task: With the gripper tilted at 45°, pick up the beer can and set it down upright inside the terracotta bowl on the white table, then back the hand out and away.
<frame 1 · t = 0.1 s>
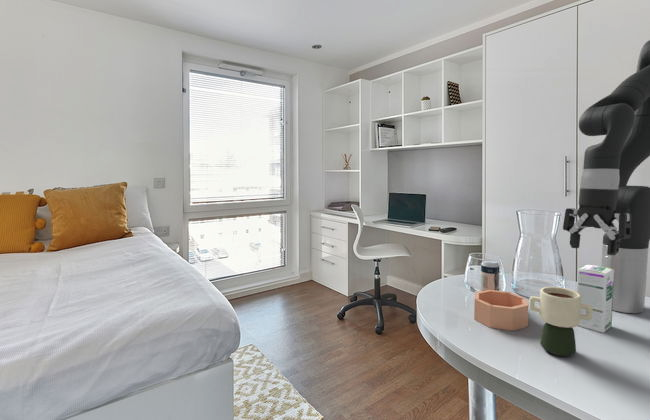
hand: (592, 251, 86), 17 cm above the table, tool pointing down, fingers open, 8 cm apart
terracotta bowl: (499, 318, 88), on the table
character mug: (557, 351, 72), on the table
syrup box: (592, 326, 83), on the table
beer can: (489, 301, 100), on the table
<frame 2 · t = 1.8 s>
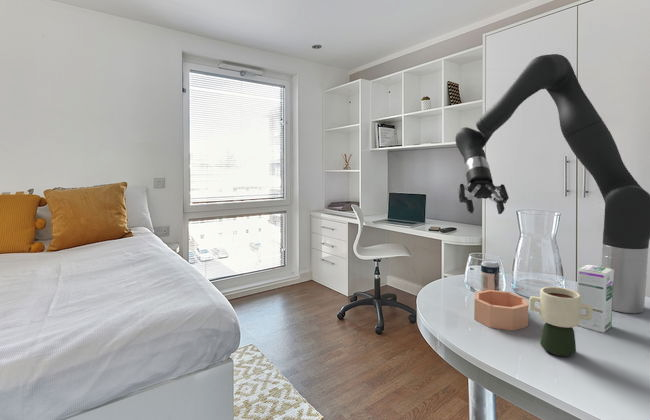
hand: (486, 212, 105), 25 cm above the table, tool tilted 40°, fingers open, 8 cm apart
nothing on the table moved.
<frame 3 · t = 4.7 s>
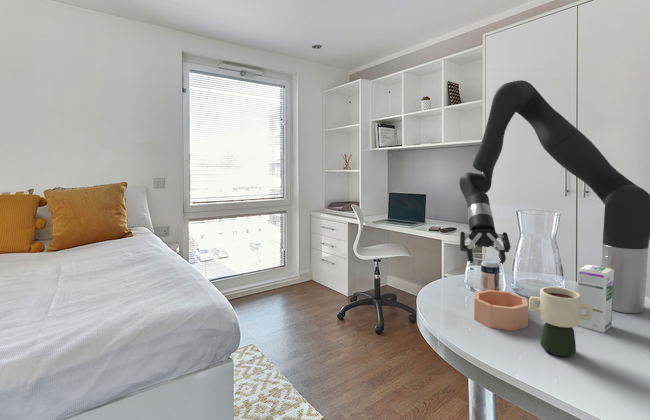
hand: (486, 262, 103), 10 cm above the table, tool tilted 45°, fingers open, 8 cm apart
nothing on the table moved.
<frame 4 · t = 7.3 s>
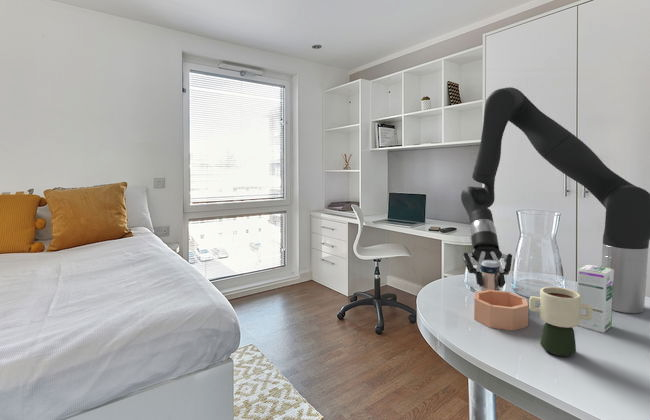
hand: (491, 285, 97), 5 cm above the table, tool tilted 45°, fingers closed on beer can, 4 cm apart
beer can: (489, 301, 100), on the table, touching gripper
everything else where it was.
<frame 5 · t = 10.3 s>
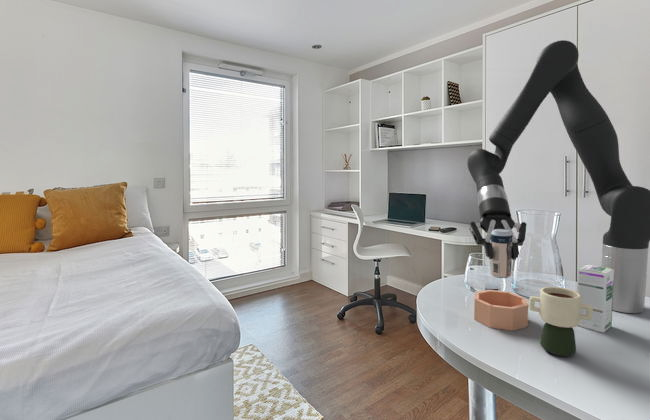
hand: (502, 257, 84), 17 cm above the table, tool tilted 45°, fingers closed on beer can, 4 cm apart
beer can: (500, 276, 87), point 11 cm above the table, touching gripper
everything else where it was.
when the fingers open (8 cm above the table, at t = 13.2 s): beer can drops 1 cm, resting on terracotta bowl.
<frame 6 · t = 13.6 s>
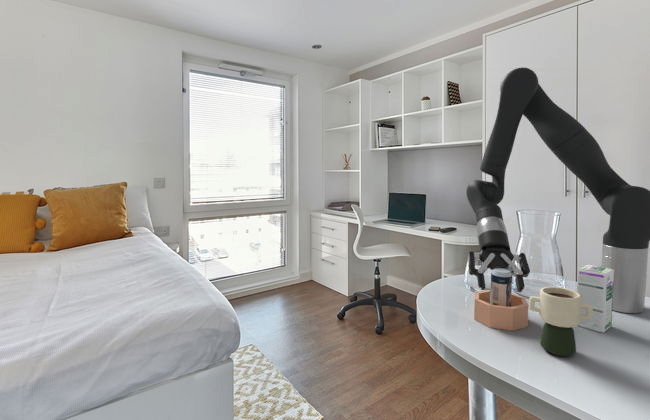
hand: (501, 289, 86), 8 cm above the table, tool tilted 45°, fingers open, 8 cm apart
beer can: (499, 315, 88), point 1 cm above the table, touching terracotta bowl
everything else where it was.
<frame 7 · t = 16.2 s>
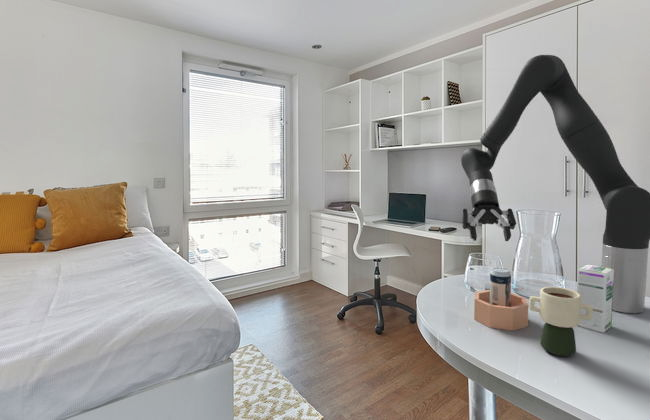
hand: (491, 239, 97), 19 cm above the table, tool tilted 45°, fingers open, 8 cm apart
nothing on the table moved.
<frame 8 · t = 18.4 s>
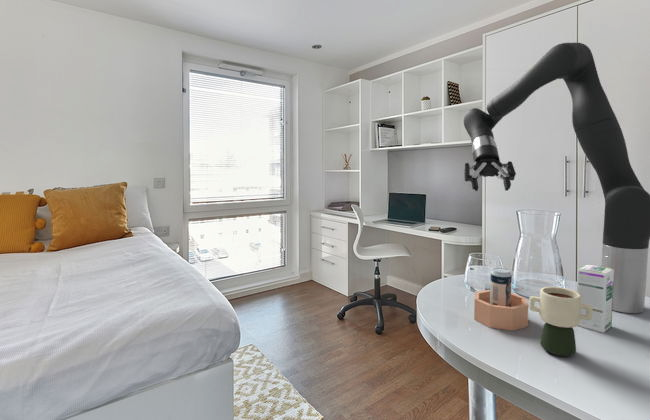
hand: (491, 189, 102), 33 cm above the table, tool tilted 45°, fingers open, 8 cm apart
nothing on the table moved.
at the end: beer can 0.2 cm off-centre on the terracotta bowl, point 0.8 cm above the terracotta bowl's base; beer can tilted 0°; the gripper is holding nothing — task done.
